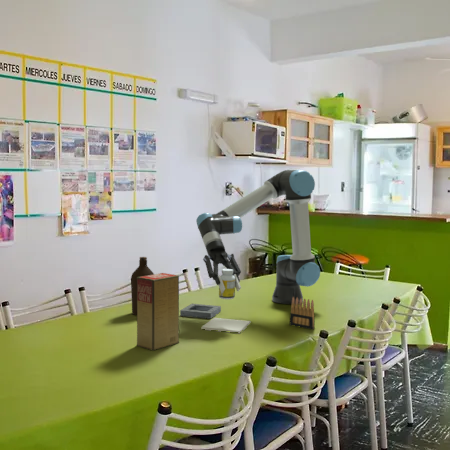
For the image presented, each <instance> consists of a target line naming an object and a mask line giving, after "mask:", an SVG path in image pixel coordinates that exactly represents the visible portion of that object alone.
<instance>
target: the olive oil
mask: <svg viewBox="0 0 450 450" xmlns="http://www.w3.org/2000/svg"><path fill="white" fill-rule="evenodd" d="M138 263H139V264H138V265H139V266H138V267H136V268H135V270H134V271H133V272H132V274H131V277H130V285H131V286H130V287H131V288H130V289H131V291H130V292H131V313H132V315H134V316H137V277H142V276H148V275H154V274H155V273H154V272H153V270H152V269H151V268H150V267H148V257H147V256H139V261H138Z"/></svg>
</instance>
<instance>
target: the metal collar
mask: <svg viewBox="0 0 450 450" xmlns="http://www.w3.org/2000/svg"><path fill="white" fill-rule="evenodd" d="M179 310H180V311H179V313H180V314H179V317H189V318H196V319H206V318H207V319H209V320H212V319H213V318H215V316H217V315H218V314H220V313H221V312H222V307H221V305H212V304H211V305H210V304H201V303H200V304H199V303H191V304H189V305H187V306H185V307H184V308H182V309H179ZM219 312H220V313H219ZM216 314H217V315H216ZM212 317H213V318H212Z"/></svg>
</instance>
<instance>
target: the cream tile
mask: <svg viewBox="0 0 450 450" xmlns="http://www.w3.org/2000/svg"><path fill="white" fill-rule="evenodd" d="M251 322H252V321H251V320H241V319H233V318H231V319H230V318H221V317H213V318H211V319H209V321H208V322H206V323H205V324H203V325H202V326H201V330H202V329H205V330H204V331H211V330H218V331H217V332H221V331H230V332H238V333H237V334H241V333H242V332H243V331H245V329H246V328H248V327H249V326H250V325H251V324H252V323H251ZM250 323H251V324H250ZM249 324H250V325H249ZM248 325H249V326H248ZM247 326H248V327H247ZM242 330H243V331H242ZM241 331H242V332H241ZM230 332H229V333H230ZM240 332H241V333H240Z"/></svg>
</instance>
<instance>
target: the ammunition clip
mask: <svg viewBox="0 0 450 450" xmlns="http://www.w3.org/2000/svg"><path fill="white" fill-rule="evenodd" d="M290 305H291V306H290V313H289V315H290V316H289V326H292V325H295V326H294V327H297V326H300V327H299V328H302V327H303V329H308V330H315V327H316V326H315V308H314V307H315V303H314V299H311V302H310V299H309V298H308V299H307V300H306V298H303V302H302V298H300V303H299V304H298V297H297V298H296V304H295V300H294V297H293V298H292V304H290Z"/></svg>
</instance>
